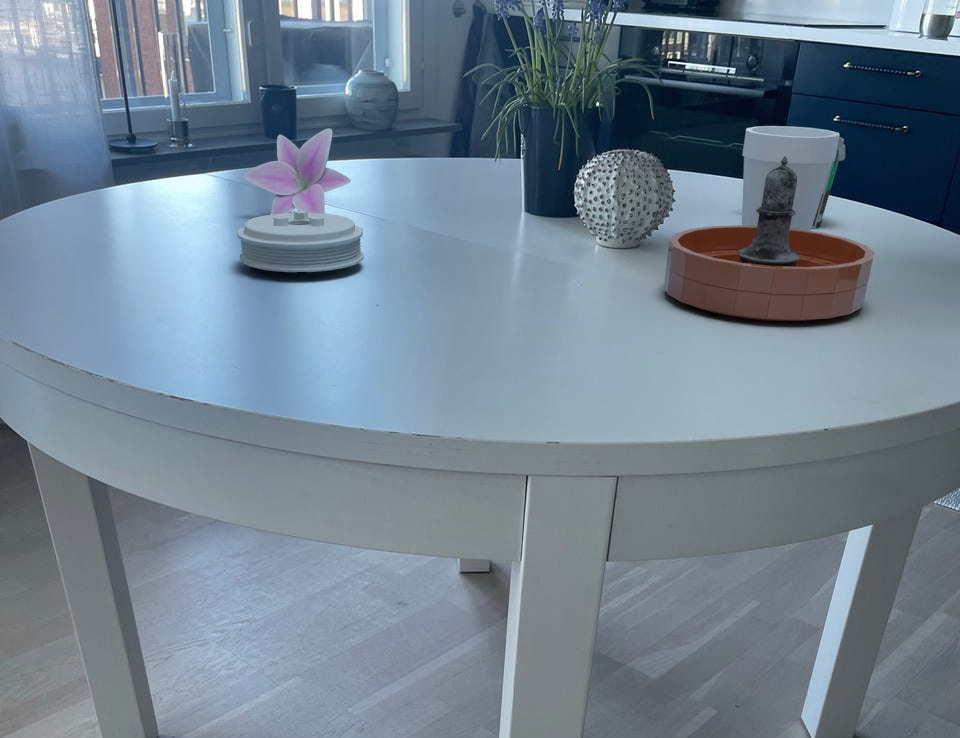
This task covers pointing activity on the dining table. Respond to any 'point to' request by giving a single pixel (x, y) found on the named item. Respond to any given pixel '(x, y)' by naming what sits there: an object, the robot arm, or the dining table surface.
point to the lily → (299, 175)
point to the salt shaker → (774, 221)
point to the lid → (300, 242)
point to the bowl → (767, 275)
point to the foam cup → (805, 157)
